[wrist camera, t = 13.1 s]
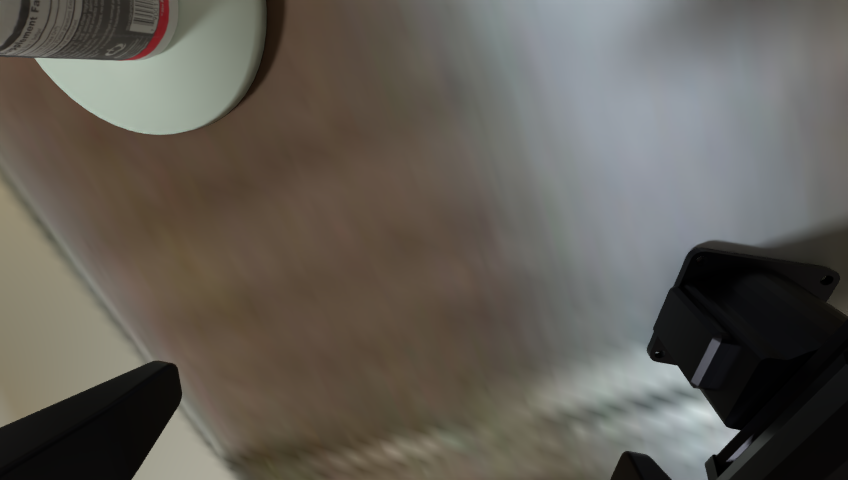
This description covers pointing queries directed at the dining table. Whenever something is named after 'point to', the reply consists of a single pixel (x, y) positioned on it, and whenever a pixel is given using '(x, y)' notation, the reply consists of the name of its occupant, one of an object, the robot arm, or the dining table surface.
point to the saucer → (175, 71)
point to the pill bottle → (86, 28)
